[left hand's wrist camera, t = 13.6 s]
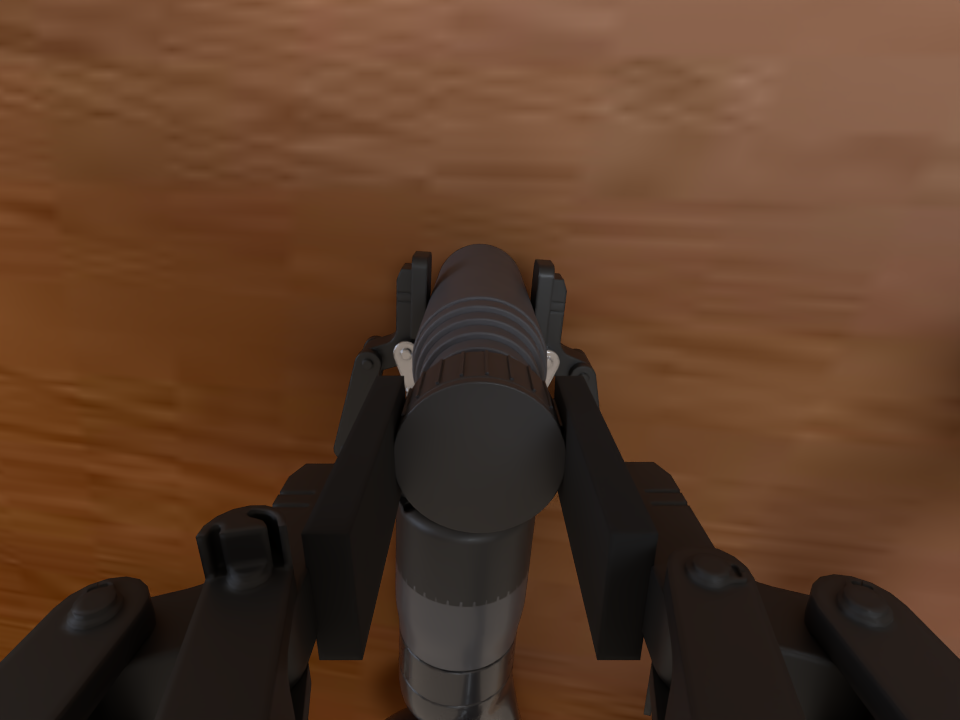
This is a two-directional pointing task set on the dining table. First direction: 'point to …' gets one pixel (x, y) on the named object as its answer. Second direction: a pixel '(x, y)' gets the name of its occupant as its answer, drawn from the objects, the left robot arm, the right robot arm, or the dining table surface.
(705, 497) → the dining table surface
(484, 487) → the cap
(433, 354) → the bottle
